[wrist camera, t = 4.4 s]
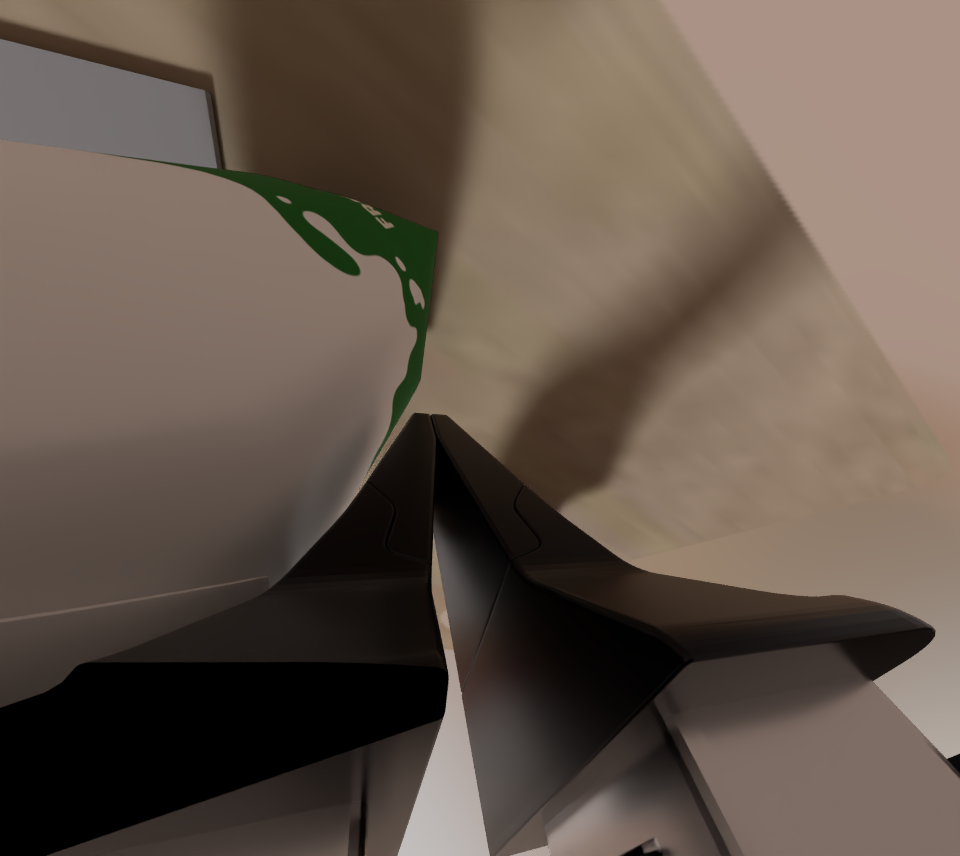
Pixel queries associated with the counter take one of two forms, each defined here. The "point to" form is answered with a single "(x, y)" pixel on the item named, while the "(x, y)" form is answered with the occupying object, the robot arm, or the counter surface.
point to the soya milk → (182, 390)
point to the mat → (102, 109)
